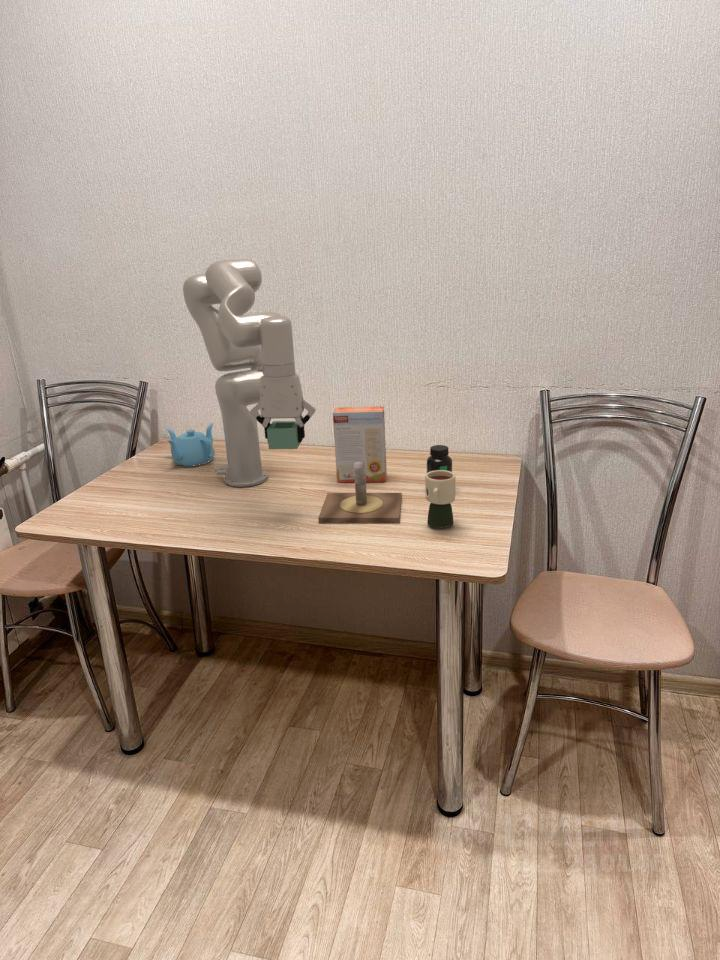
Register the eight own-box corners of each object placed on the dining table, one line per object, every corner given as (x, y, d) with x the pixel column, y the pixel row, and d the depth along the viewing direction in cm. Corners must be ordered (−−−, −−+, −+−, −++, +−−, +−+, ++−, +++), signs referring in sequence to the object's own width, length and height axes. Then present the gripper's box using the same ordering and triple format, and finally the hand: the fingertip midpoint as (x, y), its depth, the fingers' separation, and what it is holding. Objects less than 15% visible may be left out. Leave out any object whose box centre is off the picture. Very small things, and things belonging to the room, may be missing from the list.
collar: (268, 449, 168) (266, 429, 167) (274, 440, 175) (273, 421, 173) (297, 449, 168) (295, 429, 166) (302, 439, 174) (300, 420, 172)
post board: (318, 523, 172) (315, 475, 167) (327, 498, 187) (324, 453, 182) (399, 523, 170) (398, 474, 165) (401, 497, 184) (400, 452, 180)
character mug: (431, 514, 174) (431, 466, 169) (459, 517, 171) (460, 468, 166) (420, 532, 164) (419, 481, 159) (449, 536, 162) (449, 484, 157)
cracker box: (387, 475, 201) (384, 405, 193) (385, 482, 195) (383, 411, 188) (339, 475, 202) (335, 406, 195) (336, 483, 197) (332, 411, 189)
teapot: (217, 466, 214) (214, 434, 211) (168, 471, 212) (163, 439, 208) (217, 452, 228) (213, 422, 224) (170, 456, 225) (165, 426, 221)
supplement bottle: (449, 495, 185) (449, 452, 180) (424, 492, 187) (423, 450, 183) (454, 485, 191) (454, 444, 186) (430, 483, 193) (429, 442, 189)
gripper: (239, 374, 162) (247, 446, 169) (312, 372, 160) (317, 445, 167) (247, 367, 169) (254, 436, 175) (317, 365, 167) (322, 436, 174)
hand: (285, 440), depth 171 cm, fingers closed on collar, 7 cm apart
